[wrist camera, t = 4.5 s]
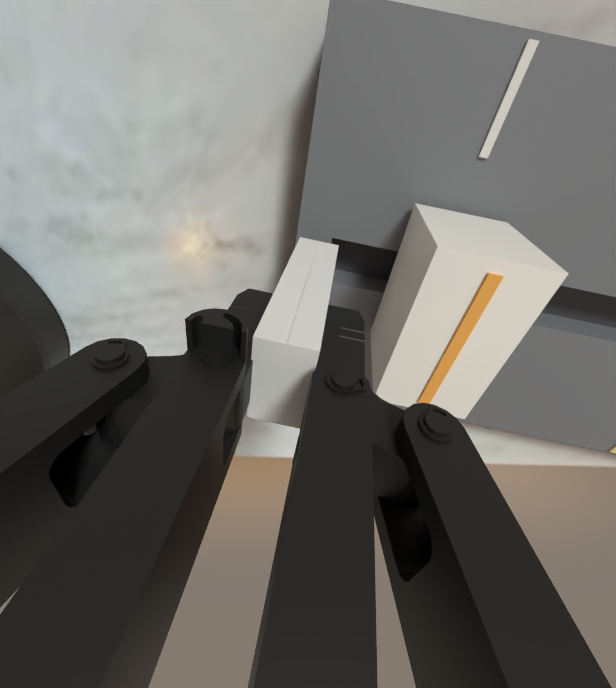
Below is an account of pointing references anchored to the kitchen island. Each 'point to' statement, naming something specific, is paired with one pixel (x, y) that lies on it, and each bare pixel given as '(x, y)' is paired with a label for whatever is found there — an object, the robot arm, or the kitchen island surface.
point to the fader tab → (456, 308)
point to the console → (476, 185)
